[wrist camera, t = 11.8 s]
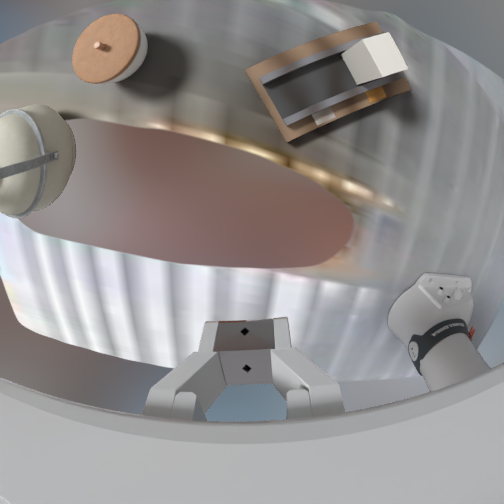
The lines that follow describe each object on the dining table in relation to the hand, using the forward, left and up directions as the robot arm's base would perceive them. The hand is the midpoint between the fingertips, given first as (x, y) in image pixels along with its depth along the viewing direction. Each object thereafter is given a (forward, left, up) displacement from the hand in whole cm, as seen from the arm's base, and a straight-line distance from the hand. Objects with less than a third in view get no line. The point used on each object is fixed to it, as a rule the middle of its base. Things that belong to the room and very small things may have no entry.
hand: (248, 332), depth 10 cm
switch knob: (-16, -16, -32) cm, 39 cm away
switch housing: (-13, -14, -34) cm, 39 cm away
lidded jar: (+18, -22, -34) cm, 45 cm away
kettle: (+38, -10, -34) cm, 52 cm away
